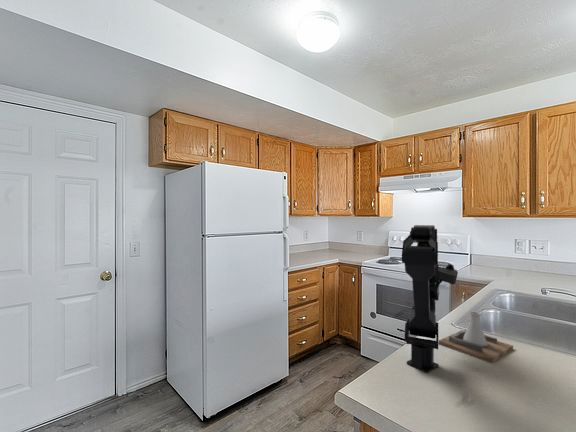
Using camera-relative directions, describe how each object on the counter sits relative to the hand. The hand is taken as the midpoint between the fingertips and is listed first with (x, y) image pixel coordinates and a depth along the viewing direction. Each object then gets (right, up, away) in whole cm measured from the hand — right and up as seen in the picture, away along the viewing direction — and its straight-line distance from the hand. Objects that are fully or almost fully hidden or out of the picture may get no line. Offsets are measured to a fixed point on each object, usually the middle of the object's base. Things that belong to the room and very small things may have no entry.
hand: (435, 306), depth 102 cm
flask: (+13, -12, -2) cm, 17 cm away
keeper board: (+12, -13, -2) cm, 18 cm away
